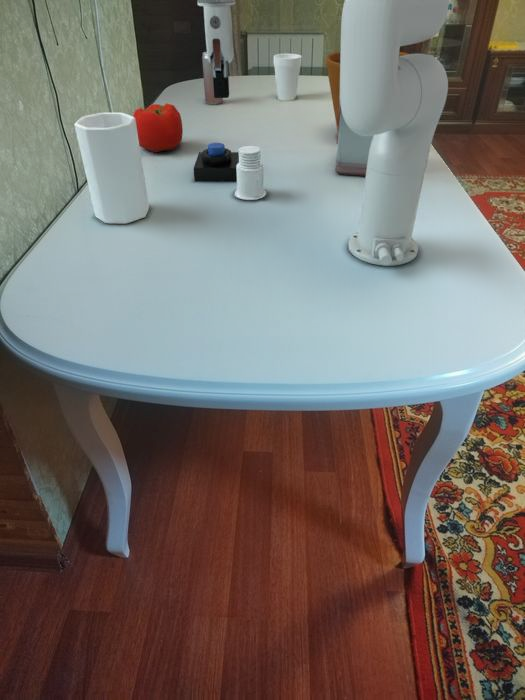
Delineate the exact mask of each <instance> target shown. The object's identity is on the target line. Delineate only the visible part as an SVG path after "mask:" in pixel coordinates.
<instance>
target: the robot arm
mask: <svg viewBox="0 0 525 700" xmlns="http://www.w3.org/2000/svg"><path fill="white" fill-rule="evenodd" d="M196 3H197V6H199V7H203V19H204V20H203V21H204V34H205V46H206V52H207V56H208V61H209V62H210V63H212V64H213V75H214V77H213V85H214V97H215V98H223V99H228V98H229V97H230V82H229V75H228V64H231V63H232V61H233V59H234V56H235V53H234V52H235V51H234V50H235V49H234V38H233V21H232V10H231V9H232V8H231V7H232V6H235V5H236V0H196ZM449 5H450V0H344V2H343V6H342V11H341V22H340V51H341V52H340V105H341V111H342V115H343V118H344V120H345V122H346V124H347V126H348V127H349V128H350V129H351V130H352V131H353V132H354V133H356V134H358V135H361V136H373V139H372V142H371V146H370V150H369V156H368V162H367V170H366V176H365V177H364V186H363V187H364V188H363V195H362V202H361V210H360V218H359V219H360V220H359V226H358V231H357V232H355V233H353V234H352V235H351V236H350V237H349V239H348V250H349V252H350V253H351V254H352V255H353V256H354V257H355V258H357V259H358V260H361V261H363V262H365V263H368V264H372V265H377V266H384V267H385V266H387V267H388V266H389V267H390V266H391V267H392V266H400V265H404V264H407V263H409V262H411V261H413V260H414V259H415V258H416V257H417V255H418V252H419V244H418V243H417V241H416V240H415V239H414V238H413V232H414V228H415V223H416V217H417V213H418V209H419V208H418V207H419V203H420V198H421V193H422V188H423V183H424V178H425V173H426V169H427V166H428V165H427V164H428V160H429V155H430V150H431V146H432V142H433V139H434V135H435V132H436V130H437V126H438V124H439V121H440V118H441V117H442V113H443V110H444V108H445V105H446V102H447V98H448V93H449V92H448V91H449V80H448V75H447V72H446V68H445V67H444V65H443V64H442V63H441V62H440V61H439V60H438V59H437V58H436V57H434V56H432V55H430V54H426V53H408V54H409V55H404V56H399V52H400V49H401V47H404V46H410V45H414V44H419V43H422V42H425V41H428V40H430V39H431V38H433V37H434V36H436V35H437V34H438V33H439V32H440V31H441V29H442V28H443V26H444V24H445V22H446V18H447V15H448V11H449Z"/></svg>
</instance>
